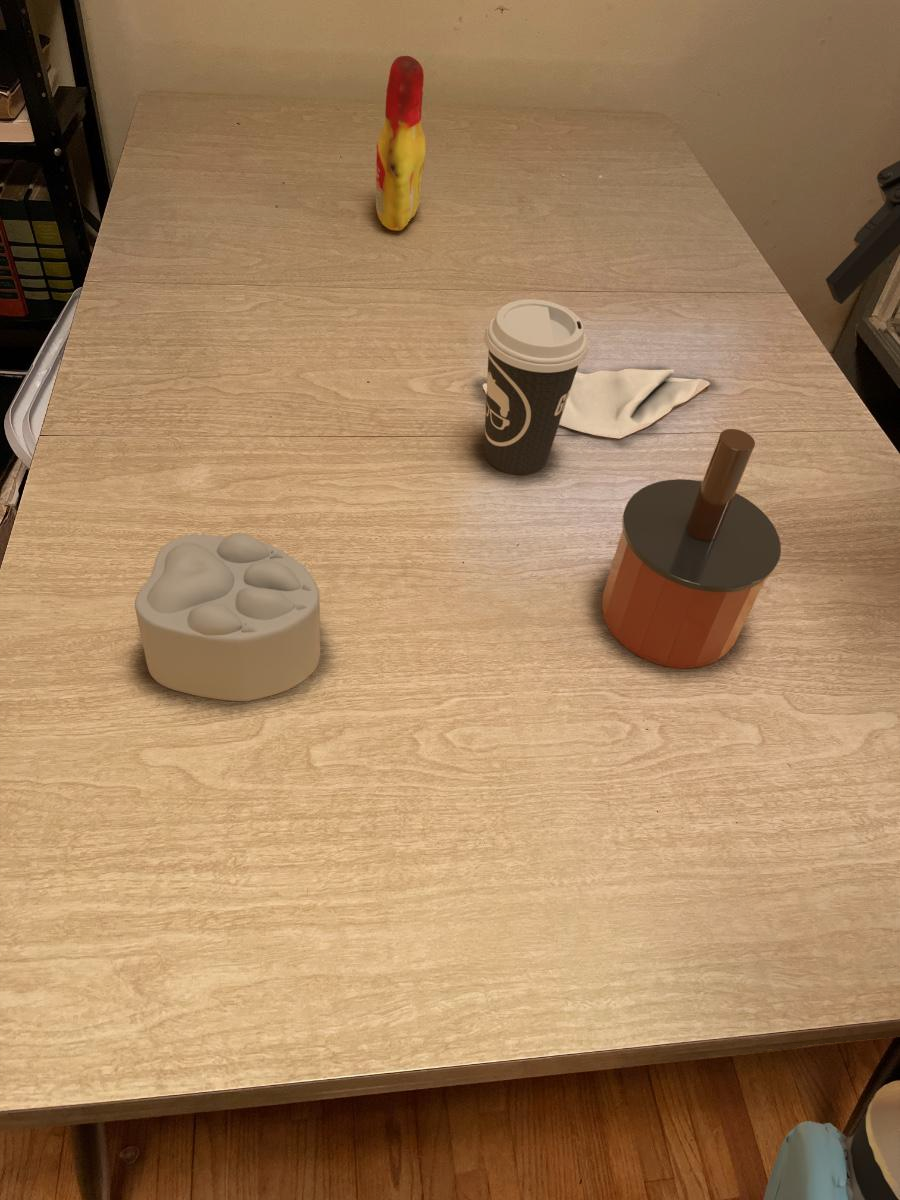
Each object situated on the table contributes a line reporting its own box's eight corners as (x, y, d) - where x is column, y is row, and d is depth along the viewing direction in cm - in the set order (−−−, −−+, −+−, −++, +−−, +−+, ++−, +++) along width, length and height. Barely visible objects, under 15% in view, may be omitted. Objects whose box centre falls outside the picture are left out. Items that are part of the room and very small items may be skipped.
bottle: (413, 241, 126) (425, 77, 111) (365, 234, 126) (370, 69, 111) (425, 202, 134) (437, 44, 119) (380, 195, 134) (387, 36, 119)
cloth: (484, 431, 99) (487, 413, 98) (480, 357, 109) (483, 339, 107) (730, 449, 101) (737, 431, 99) (705, 374, 111) (711, 357, 109)
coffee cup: (546, 496, 93) (576, 363, 82) (454, 467, 95) (472, 332, 84) (573, 442, 99) (604, 311, 89) (486, 415, 101) (506, 284, 90)
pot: (762, 650, 82) (803, 572, 75) (643, 682, 78) (674, 603, 71) (691, 556, 89) (722, 477, 82) (578, 582, 85) (600, 501, 79)
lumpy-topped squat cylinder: (179, 589, 80) (167, 511, 74) (332, 614, 80) (333, 538, 74) (135, 685, 73) (118, 609, 67) (303, 713, 73) (301, 639, 67)
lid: (807, 579, 75) (860, 479, 68) (670, 613, 71) (710, 510, 64) (721, 479, 83) (760, 379, 76) (593, 504, 79) (621, 401, 72)
